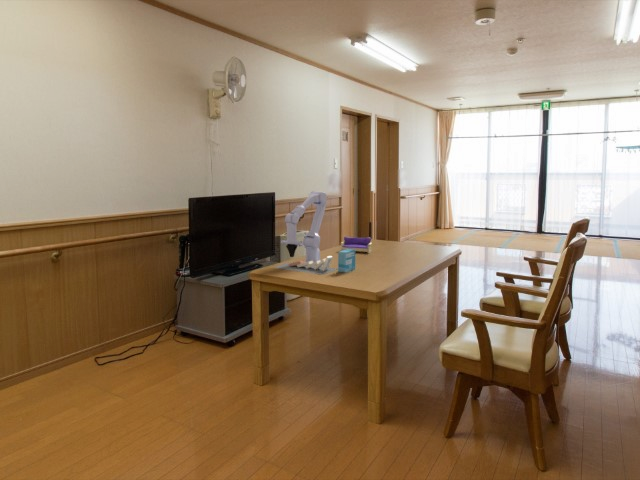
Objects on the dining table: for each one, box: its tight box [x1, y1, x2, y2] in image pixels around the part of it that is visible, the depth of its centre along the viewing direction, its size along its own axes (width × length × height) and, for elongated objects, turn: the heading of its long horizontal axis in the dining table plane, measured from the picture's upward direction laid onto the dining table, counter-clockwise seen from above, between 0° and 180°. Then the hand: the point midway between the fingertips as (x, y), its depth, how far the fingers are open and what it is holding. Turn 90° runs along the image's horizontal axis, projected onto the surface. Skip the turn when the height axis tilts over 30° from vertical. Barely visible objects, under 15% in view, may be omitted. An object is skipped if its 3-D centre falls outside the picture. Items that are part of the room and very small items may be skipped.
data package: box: [337, 249, 356, 274], centre depth 258 cm, size 12×4×12 cm, turn 147°
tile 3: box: [305, 259, 322, 269], centre depth 263 cm, size 4×2×8 cm
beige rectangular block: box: [297, 260, 313, 267], centre depth 266 cm, size 4×2×8 cm
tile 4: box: [314, 258, 326, 270], centre depth 261 cm, size 4×2×8 cm
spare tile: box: [288, 259, 306, 266], centre depth 269 cm, size 4×2×8 cm
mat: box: [272, 262, 338, 276], centre depth 265 cm, size 17×34×1 cm, turn 59°
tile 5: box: [321, 255, 333, 271], centre depth 258 cm, size 4×2×8 cm, turn 149°
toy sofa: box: [339, 236, 373, 254], centre depth 320 cm, size 21×9×10 cm, turn 72°
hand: (291, 256), depth 271 cm, fingers closed
